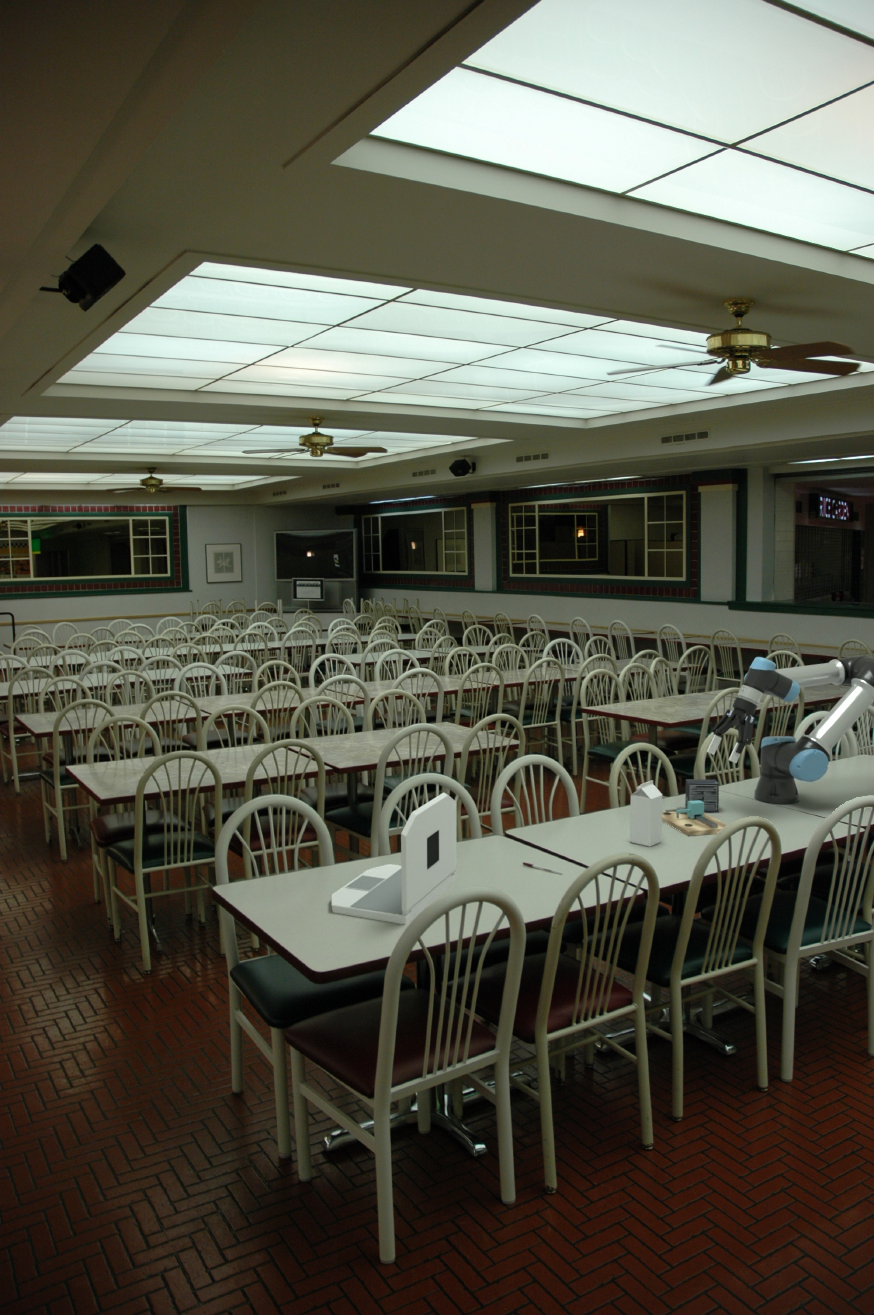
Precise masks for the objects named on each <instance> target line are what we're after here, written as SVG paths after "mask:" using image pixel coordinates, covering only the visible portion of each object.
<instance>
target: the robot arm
mask: <svg viewBox="0 0 874 1315" xmlns="http://www.w3.org/2000/svg"><path fill="white" fill-rule="evenodd" d="M776 667H777V665H776V663H775V662H773V661H772V660H770V659H767V658H765V657H763V656H756V657H755V658H754V660H753V661H752V663H751V665H750V666H749V668H748V671H747V673H745V675H744V677H743V682H742V685H741V686H740V688H739V691H738V692H737V697H735V699H734V701H733V703H732V708H733V710H731V709H726V711H725V713H724V714H723V716H722V717H721V718H720V719H719V720H718V721H717V723H716V724H715V725H714V726H713V727H712V728H711V732H712V733H713V736H712V738H711V741H710V743H709V745H708V748H707V750H706V753H709V754H711V755H713V756H714V755H715V753H716V752H717V749H718V747H719V745H720V743H721V741H722V739H723V735H725V733H727V732H728V731H729V730H730V729H731V728H733V727H737V732H738V740H737V741H736V743H735V745H734V747H733V750H732V751H731V754H730V756H729V757H728V761H729V762H732V763H734V764H737V763H738V760H739V758H740V756H741V754H742V752H743V750H744V748H745V747H746V746H747V745H748V746H750V745H751V744H752V738H753V731H754V724H755V721H756V718H755V717H753V716H754V715H755V712H756V711H757V708H758V705H759V704H760V703H761V700H762V698H763V695H766V696H771V697H776V698H778V699H780V700H781V701H784V702H786V703H792V702H794V701H796V699H797V698H798V697H799V695H800V694H801V688H805V687H806V688H807V687H815V686H821V685H830V684H832V685H834V686H850V688H849V690H848V691H846V693H844V695H843V696H842V697H841V698H840V699H839V700H838V701H837V703H836V704H835V705H834V706H833V707H832V709H830V711H828V713H827V714H826V715H825V716H824V717H823V719H822V720H821V721H820V722H819V723H818V724H817V726H815V728H814V729H813V730H812V731H811V732H810V733H809V734H806V735H803V734H802V736H800V737H799V738H798V740H797V741H796V737H794V736H789V735H788V736H787V735H777V736H776V735H775V736H771V735H770V736H765V737H763V738H762V740H761V744H760V770H759V771H760V772H759V780H758V782H757V784H756V788H755V789H754V799H756V800H758V801H761V802H764V803H771V804H778V805H780V804H781V805H789V804H795V803H797V802H799V799H800V798H799V797H800V796H799V792H798V791H799V790H798V787H797V785H796V781H795V779H796V780H798V781H801V782H808V783H810V782H811V783H812V782H816V781H818V780H820V779H821V778H823V777H824V776H825V775H826V773H827V771H828V769H829V767H828V765H829V764H830V762H829V760H830V759H831V753H830V752H831V750H832V749H833V748H834V747H835V746H836V744H837V743H838V742H839V741H840V740H841V739H842V738H843V737H844V735H846V733H847V732H848V731H849V730H850V728H852V727H853V725H854V724H855V723H856V721H857V720H858V719H859V718H860V717H861V716H862V715H863V714H864V713H865V712H866V710H867V709H868V708H869V707H870V706H871V705H872V704H873V702H874V656H870V655H869V656H868V655H853V656H847V657H842V658H835V659H832V660H831V659H830V661H829V662H826V663H825V662H824V663H819V664H818V663H816V664H809V665H802V666H793V667H785V668H778V669H777V668H776Z"/></svg>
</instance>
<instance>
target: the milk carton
mask: <svg viewBox="0 0 874 1315" xmlns="http://www.w3.org/2000/svg"><path fill="white" fill-rule="evenodd" d="M629 806H630V811H629V843H633V844H637V845H643V846H645V847H652V846H654V845H657V844H660V843H661V842H662V833H663V832H662V831H663V830H662V827H663V821H662V812H663V793H661V791H660V790H659V789H658V788H657V786H655V785H654V780H649V781H646V782H643V783H641V784H640V785H638V786H636V791H634V792H633V793H632V794H630V805H629Z"/></svg>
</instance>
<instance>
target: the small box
mask: <svg viewBox="0 0 874 1315" xmlns="http://www.w3.org/2000/svg"><path fill="white" fill-rule="evenodd" d="M719 787H720V783H719V781H717V780H716V779H696V778H695V779H694V778H692V779H690V778H688V779H685V801H684V802H685V806H684V807H688V801H697V800H700V801H702V802H704V813H714V812H718V813H719V812H720V810H719V809H720V808H719V806H720V805H719V803H720V802H719V800H720V798H719V794H720V793H719V792H720V791H719V790H720V788H719Z"/></svg>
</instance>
